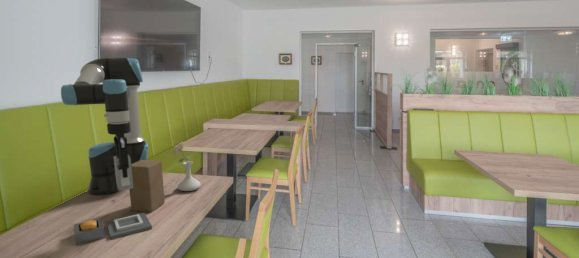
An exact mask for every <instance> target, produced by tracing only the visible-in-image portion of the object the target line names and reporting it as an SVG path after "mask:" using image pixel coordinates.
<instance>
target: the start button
mask: <svg viewBox="0 0 579 258" xmlns="http://www.w3.org/2000/svg"><path fill="white" fill-rule="evenodd" d="M82 222H83V223H82ZM82 222H80V223H81V225H80V226H81V231H84V230H88V229H92V228H97V222H96V221H95V219H90V220H86V221H82Z"/></svg>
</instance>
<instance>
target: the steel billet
mask: <svg viewBox="0 0 579 258" xmlns="http://www.w3.org/2000/svg"><path fill="white" fill-rule="evenodd" d="M128 163H129V168H128V170H129V180H130V185H127V186H122V185H121V175H120V170H118V168H120V161H119V156H114V165H115V175H116V184H117V188H118V191H117V192H119V191H120V192H121V191H125V190H129V189H131V188H133V179H132V169H131V158H130V156H129V155H128Z"/></svg>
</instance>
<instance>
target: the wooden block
mask: <svg viewBox="0 0 579 258" xmlns="http://www.w3.org/2000/svg"><path fill="white" fill-rule="evenodd" d="M131 169H132V179H133V188H131V189H128V190H129V197H130V209H131V211H136V212H143V213H146V212H147V213H153V212H154V211H156V210H157V209H158V208H160V207H161V206H162V205H165V203H166V202H165V201H166V200H165V190H164V177H163V165H162V161H161V160H151V159H150V160H149V159H147V160H140V161H138V162H136V163H133V164H131Z"/></svg>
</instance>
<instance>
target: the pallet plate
mask: <svg viewBox="0 0 579 258" xmlns="http://www.w3.org/2000/svg"><path fill="white" fill-rule="evenodd" d="M106 227H107V231H108V234H109V237H110V240H114V239H118V238H121V237H125V236H130V235H133V234H137V233H142V232H146V231H149V230H152V229H153V226H152V224H151V222H150V219H148V216H147V215H146V212H142V213H137V214H133V215H128V216H124V217H121V218H120V217H119V218H115V219H111V220H107V221H106Z"/></svg>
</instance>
